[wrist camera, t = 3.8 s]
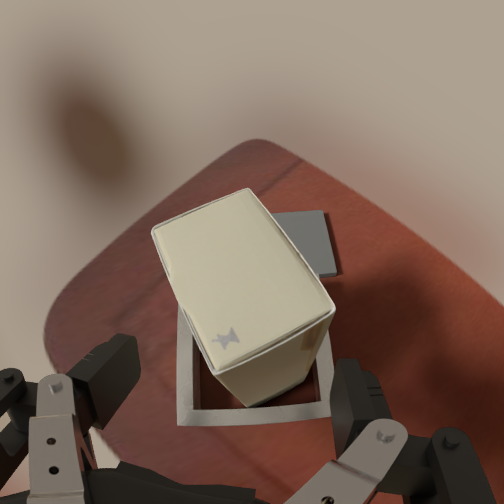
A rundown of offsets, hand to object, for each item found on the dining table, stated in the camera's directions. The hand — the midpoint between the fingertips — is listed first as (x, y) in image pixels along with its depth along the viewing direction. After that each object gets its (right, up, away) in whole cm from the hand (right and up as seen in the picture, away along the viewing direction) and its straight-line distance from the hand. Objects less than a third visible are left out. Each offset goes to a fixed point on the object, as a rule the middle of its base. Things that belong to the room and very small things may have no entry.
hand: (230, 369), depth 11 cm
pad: (+4, +5, +13) cm, 15 cm away
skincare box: (+1, -3, +9) cm, 9 cm away
